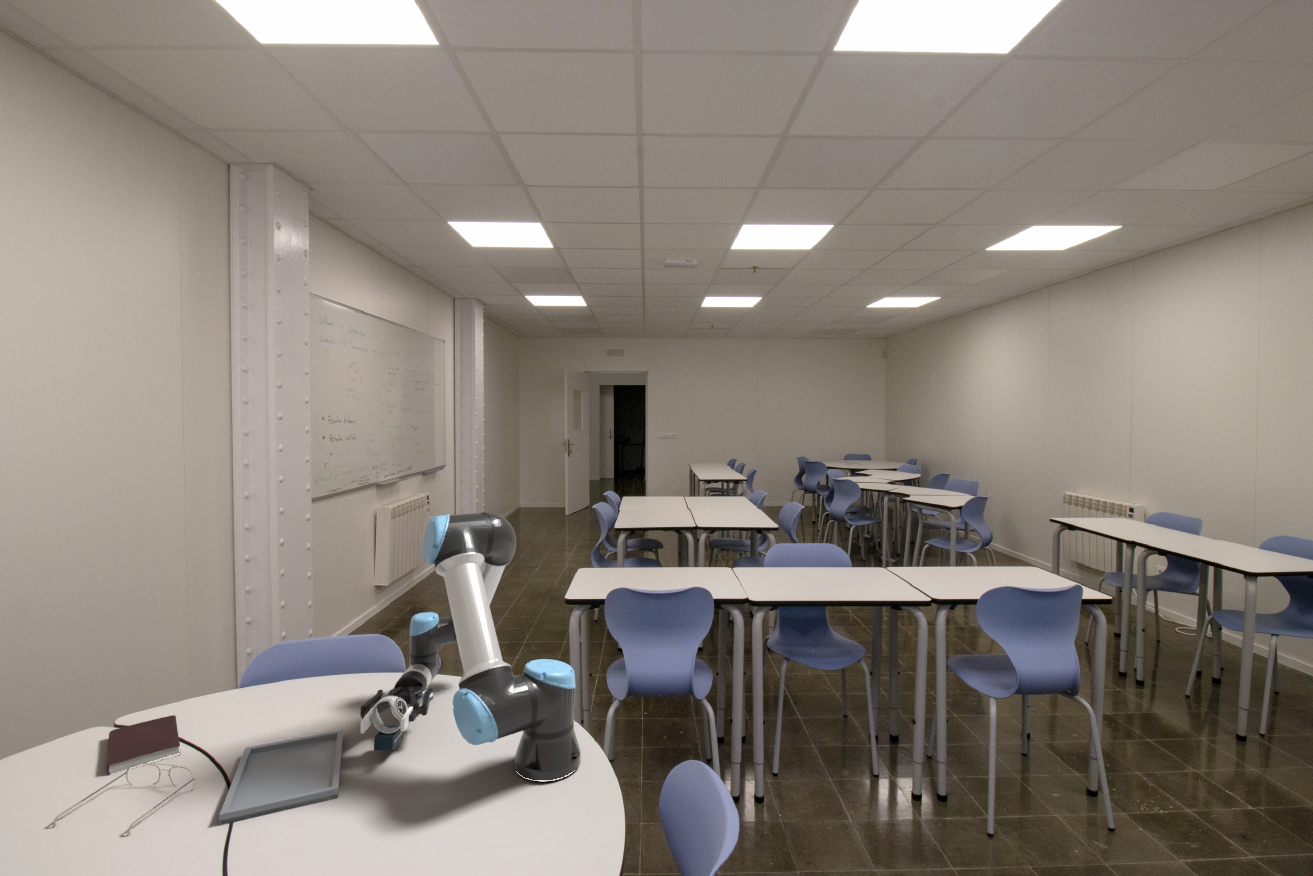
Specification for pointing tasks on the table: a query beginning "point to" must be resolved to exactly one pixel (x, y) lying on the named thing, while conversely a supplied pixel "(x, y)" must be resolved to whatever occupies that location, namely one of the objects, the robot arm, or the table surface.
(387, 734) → the watch
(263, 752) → the tray
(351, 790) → the table surface
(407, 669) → the robot arm
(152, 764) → the eyeglasses
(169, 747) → the book
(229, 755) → the table surface
